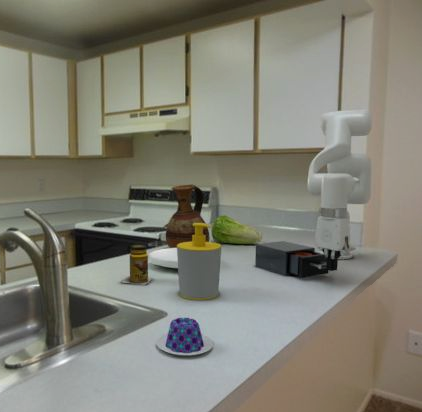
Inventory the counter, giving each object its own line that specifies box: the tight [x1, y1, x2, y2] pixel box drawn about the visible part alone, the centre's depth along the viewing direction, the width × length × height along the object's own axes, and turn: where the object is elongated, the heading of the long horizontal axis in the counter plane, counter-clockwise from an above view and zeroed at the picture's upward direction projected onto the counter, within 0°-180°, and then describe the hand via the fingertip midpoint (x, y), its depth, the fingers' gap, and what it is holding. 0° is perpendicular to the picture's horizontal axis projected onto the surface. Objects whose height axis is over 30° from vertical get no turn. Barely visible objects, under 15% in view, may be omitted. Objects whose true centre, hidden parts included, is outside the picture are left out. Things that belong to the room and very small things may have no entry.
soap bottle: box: [177, 222, 222, 301], centre depth 121 cm, size 13×13×21 cm
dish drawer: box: [287, 251, 330, 279], centre depth 141 cm, size 19×12×7 cm, turn 25°
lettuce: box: [211, 214, 263, 245], centre depth 201 cm, size 14×24×14 cm
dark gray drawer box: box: [254, 240, 316, 277], centre depth 150 cm, size 16×14×9 cm
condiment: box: [121, 244, 152, 286], centre depth 136 cm, size 7×8×12 cm
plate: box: [148, 247, 178, 269], centre depth 157 cm, size 28×6×27 cm
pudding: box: [155, 317, 214, 356], centre depth 86 cm, size 12×12×5 cm
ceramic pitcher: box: [165, 184, 210, 248], centre depth 186 cm, size 20×20×30 cm
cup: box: [294, 252, 312, 257], centre depth 142 cm, size 6×6×5 cm
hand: (331, 270), depth 131 cm, fingers closed
